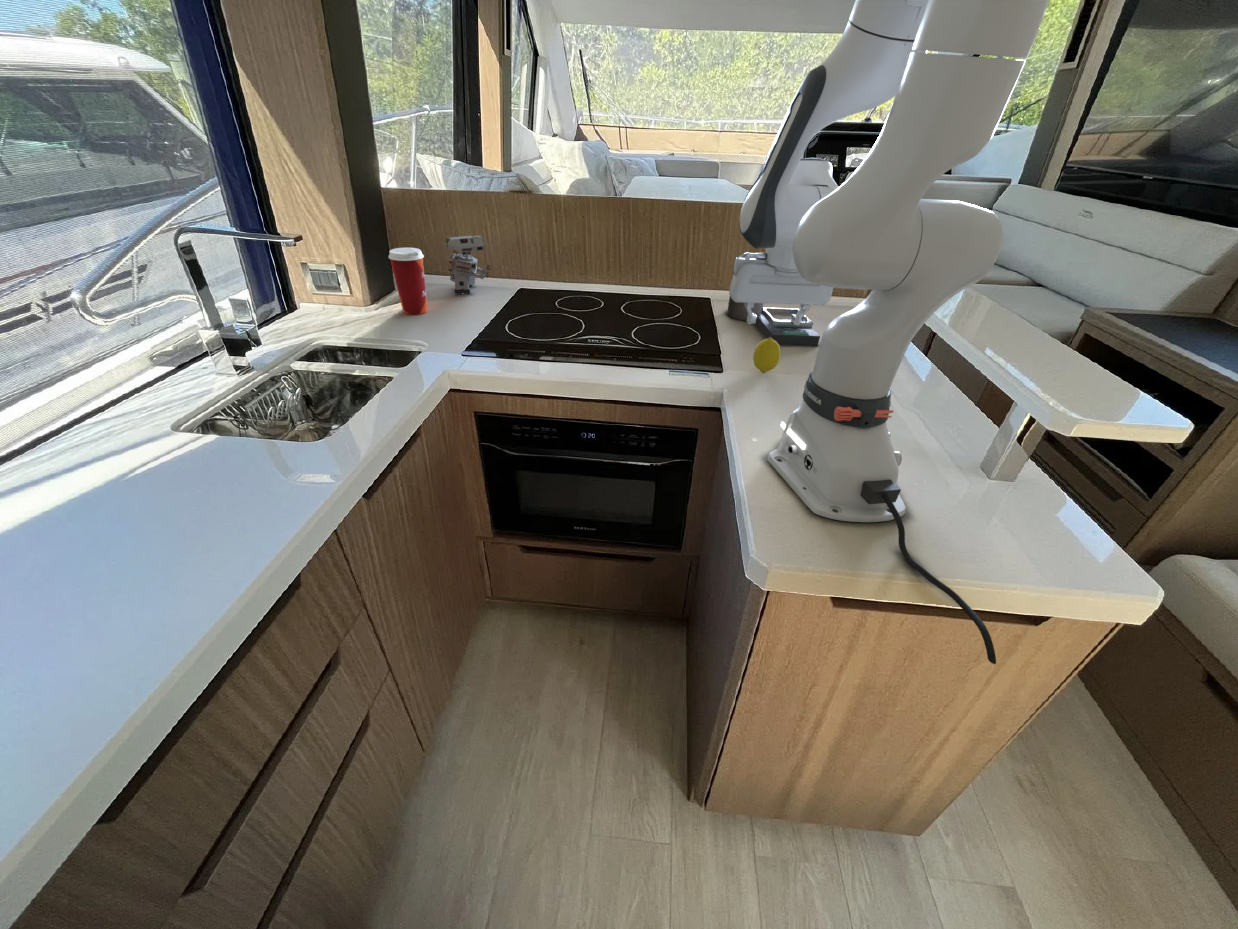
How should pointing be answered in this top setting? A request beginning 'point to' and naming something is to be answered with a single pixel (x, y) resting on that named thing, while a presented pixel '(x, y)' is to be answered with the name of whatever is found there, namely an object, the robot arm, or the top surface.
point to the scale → (787, 334)
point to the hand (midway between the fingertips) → (772, 323)
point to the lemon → (766, 355)
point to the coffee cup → (409, 279)
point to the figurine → (465, 262)
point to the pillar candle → (742, 309)
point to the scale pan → (784, 318)
